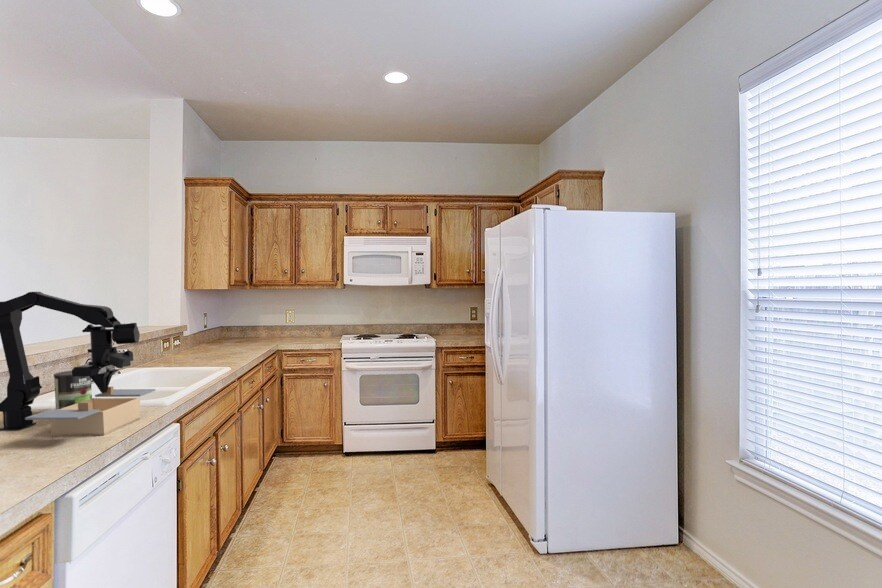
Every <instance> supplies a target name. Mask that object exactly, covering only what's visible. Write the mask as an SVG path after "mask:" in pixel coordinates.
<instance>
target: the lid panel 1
mask: <svg viewBox="0 0 882 588" xmlns="http://www.w3.org/2000/svg"><path fill="white" fill-rule="evenodd" d="M97 412H100V409H91V402H79V403H78V410H56V409H48V410H44V411H41V412H39V413H35V414H32V416H29V417H26V418H25V420H33V421H38V420H39V421H40V420H41V421H44V420H45V421H47V420H49V421H51V420H78V419H81V418H84V417H86V416H89V415H92V414H94V413H97Z"/></svg>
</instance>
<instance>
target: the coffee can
mask: <svg viewBox="0 0 882 588" xmlns="http://www.w3.org/2000/svg"><path fill="white" fill-rule="evenodd" d="M53 378H54V381H53V382H54V397H55V401H54V402H55V410H58V409H61V408H64V407H68V406H71V405H74V404H77V403H79V402H83V401H86V400H89V399H92V398H93V391H92V379H91V378H90V376H72V370H67V371H60V372H56V373H54V374H53Z"/></svg>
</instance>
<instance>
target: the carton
mask: <svg viewBox="0 0 882 588" xmlns="http://www.w3.org/2000/svg"><path fill="white" fill-rule="evenodd" d="M83 402H91V409H100V412H97V413H94V414H92V415H89V416H86V417H84V418H81V419H78V420H50V429H51V430H50V431H51V432H50V433H51V436H52V437H57V436H58V437H59V436H60V437H61V436H63V437H64V436H67V437H68V436H69V437H71V436H73V437H75V436H76V437H78V436H79V437H80V436H84V437H85V436H92V437H93V436H106V435H108V434H111V433H113V432H115V431H117V430H119V429H122V428H125V427H126V426H128V425H130V424H133V423H135V422H137V421H140V420H141V419H142V418H141V397H112V398H111V397H95V398H93V397H92V399H89V400H86V401H83ZM58 410H78V403H77V404H74V405H71V406H68V407H64V408H61V409H58Z"/></svg>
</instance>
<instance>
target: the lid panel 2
mask: <svg viewBox="0 0 882 588" xmlns="http://www.w3.org/2000/svg"><path fill="white" fill-rule="evenodd" d="M155 391H156V389H155V388H134V389H133V388H125V389H123V388H121V389H118V388H117V389H114V386H108V389H107V392H106V393H101V392H100V393H97V394H94V397H95V398H111V397H112V398H137V397H142V396H145V395H149V394H150V393H153V392H155Z"/></svg>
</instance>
